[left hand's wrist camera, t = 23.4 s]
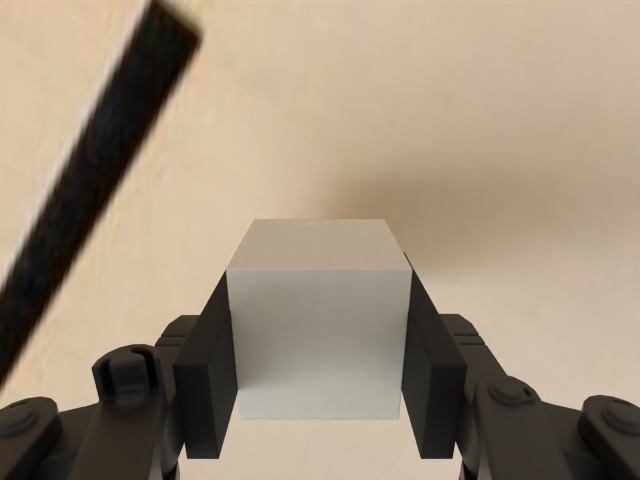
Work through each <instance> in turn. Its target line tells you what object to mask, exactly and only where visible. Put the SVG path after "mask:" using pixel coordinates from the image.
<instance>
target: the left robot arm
mask: <svg viewBox="0 0 640 480" xmlns="http://www.w3.org/2000/svg"><path fill="white" fill-rule="evenodd" d="M403 253H404V252H403ZM404 255H405V253H404ZM405 257H406V259H407V260H408V258H407V256H406V255H405ZM408 262H409V260H408ZM409 264H410V266H411V268H412V278H411V289H410V300H409V311H408V322H407V333H406V345H405V356H404V367H403V378H402V389H401V390H402V393H403V397H404V400H405V404H406V407H407V411H408V414H409V418H410V422H411V425H412V429H413V432H414V436H415V439H416V443H417V446H418V450H419V453H420V457H421V459H453V453H454V446H455V441H456V443H457V446H458V448H459V451H460V453H461V456H462V464H461V470H460V476H459V480H640V408H639V407H637V406H635V405H634V404H632V403H630V402H628V401H625V400H622V399H619V398H616V397H612V396H604V395H596V396H590V397H588V398H587V399H586V400H585V401H584V403H583V406H582V409H581V411H580V410H575V409H571V408H566V407H562V406H558V405H553V404H550V403H546V402H543V401H541V399H540V397H539V396H538V394H537V393H536V391H535V390H534V389H532V388H531V387H530V386H529V385H527V384H526V383H525V382H523V381H521V380H519V379H517V378H515V377H512V376H508V375H507V374H506V373H505V371H504V370H503V369H502V367H501V366H500V364H499V363H498V361H497V360H496V358H495V357H494V355H493V354H492V352H491V351H490V350H489V348H488V347H487V345H485V342H484V341H483V339H482V338H481V336H479V334H478V332H477V331H476V329H475V328H474V326H473V325H472V323H470V322H469V321H468V320H466V319H465V318H463V317H462V316H461V315H459V314H439V313H438V312H437V310H436V308H435V306H434V304H433V303H432V301H431V299H430V297H429V296H428V294H427V292H426V290H425V288H424V287H423V285H422V283H421V281H420V279H419V278H418V276H417V274H416V272H415V271H414V269H413V267H412V265H411V263H410V262H409ZM92 372H93V376H94V380H95V384H96V388H97V392H98V396H99V402H98V403H96V404H92V405H89V406H85V407H81V408H76V409H72V410H67V411H63V412H59V411H58V407H57V404H56V402H54V401H53V400H52V399H51V398H46V397H34V398H27V399H24V400H20V401H17V402H15V403H12V404H10V405H8V406H6V407H4V408H2V409H0V480H180V471H179V464H178V457H179V455H180V452H181V450H182V447H183V445H184V442H185V448H186V454H187V459H219V456H220V452H221V449H222V445H223V442H224V438H225V435H226V431H227V428H228V424H229V421H230V417H231V414H232V410H233V407H234V403H235V399H236V396H237V392H238V385H237V374H236V363H235V352H234V342H233V331H232V320H231V310H230V307H229V296H228V286H227V275H226V270H225V272H224V274H223V275H222V277H221V279H220V281H219V283H218V284H217V286H216V288H215V290H214V291H213V293H212V295H211V297H210V299H209V300H208V302H207V304H206V306H205V308H204V309H203V311H202V313H201V315H181V316H180V317H178V318H177V319H175V320H174V321H173V322H171V323H170V324H168V326H167V327H166V329H165V330H164V332H163V333H162V335H161V337H160V338H159V339H158V341H157V342H156V344H155V347H153V346H150V345H146V344H132V345H128V346H124V347H120V348H118V349H115V350H113V351H111V352H108V353H107V354H105V355H104V356H102V357H101V358H100V359H98V360H97V361H96V363H95V364H94V365H93V366H92Z"/></svg>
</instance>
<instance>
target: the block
mask: <svg viewBox="0 0 640 480" xmlns="http://www.w3.org/2000/svg"><path fill="white" fill-rule="evenodd" d="M226 275H227V286H228V296H229V307H230V310H231V320H232V331H233V342H234V352H235V363H236V374H237V385H238V392H237V393H238V403H239V414H240V419H241V420H398V419H399V411H400V400H401V389H402V378H403V367H404V356H405V345H406V333H407V322H408V311H409V300H410V289H411V278H412V268H411V266H410V264H409V262H408V260H407V259H406V257H405V255H404V253H403V251H402V250H401V248H400V246H399V244H398V242H397V241H396V239H395V237H394V235H393V233H392V232H391V230H390V228H389V226H388V224H387V223H386V221H385V219H254V221H253V223H252V224H251V226H250V228H249V230H248V231H247V233H246V235H245V237H244V238H243V240H242V242H241V244H240V245H239V247H238V249H237V251H236V252H235V254H234V256H233V258H232V259H231V261H230V263H229V265H228V266H227V268H226Z"/></svg>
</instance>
